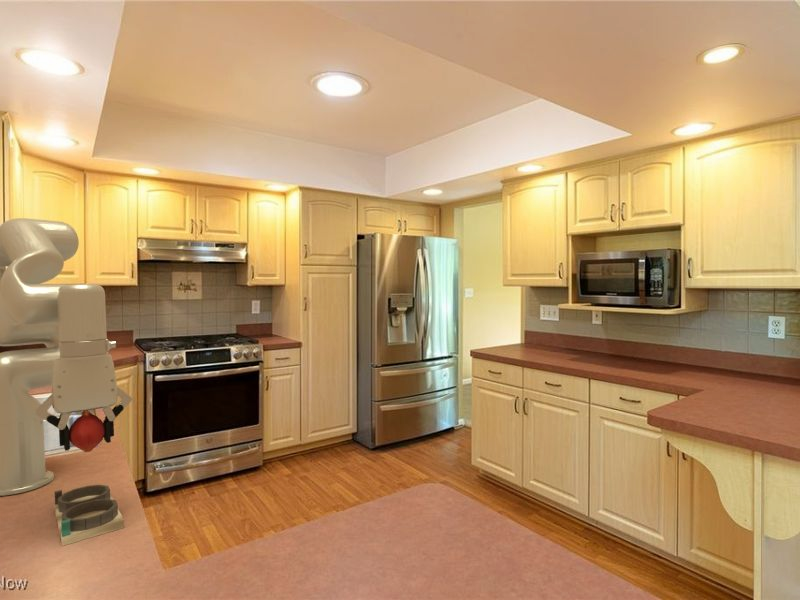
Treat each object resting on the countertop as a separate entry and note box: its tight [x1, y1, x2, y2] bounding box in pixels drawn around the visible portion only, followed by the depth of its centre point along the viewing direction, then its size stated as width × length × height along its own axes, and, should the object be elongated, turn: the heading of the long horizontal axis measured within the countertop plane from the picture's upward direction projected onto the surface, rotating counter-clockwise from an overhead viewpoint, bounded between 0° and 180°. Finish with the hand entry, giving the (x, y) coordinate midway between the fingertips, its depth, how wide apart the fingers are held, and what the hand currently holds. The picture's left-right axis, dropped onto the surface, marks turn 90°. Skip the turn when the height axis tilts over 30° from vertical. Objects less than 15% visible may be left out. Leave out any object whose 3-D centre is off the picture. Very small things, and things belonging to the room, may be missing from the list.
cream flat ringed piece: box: [53, 484, 125, 547], centre depth 94 cm, size 18×10×4 cm, turn 39°
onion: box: [69, 410, 105, 453], centre depth 90 cm, size 6×6×8 cm
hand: (87, 443), depth 90 cm, fingers closed on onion, 5 cm apart
